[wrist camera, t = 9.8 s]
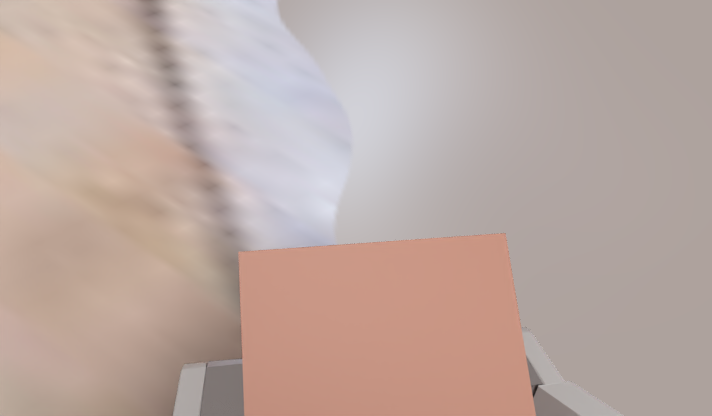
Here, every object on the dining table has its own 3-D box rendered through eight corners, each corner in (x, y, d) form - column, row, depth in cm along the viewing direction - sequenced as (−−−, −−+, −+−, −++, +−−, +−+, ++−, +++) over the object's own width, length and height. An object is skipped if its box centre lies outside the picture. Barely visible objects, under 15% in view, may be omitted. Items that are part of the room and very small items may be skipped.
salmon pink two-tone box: (391, 397, 19) (557, 527, 7) (270, 413, 18) (246, 589, 7) (379, 277, 20) (507, 230, 9) (264, 287, 19) (235, 249, 8)
